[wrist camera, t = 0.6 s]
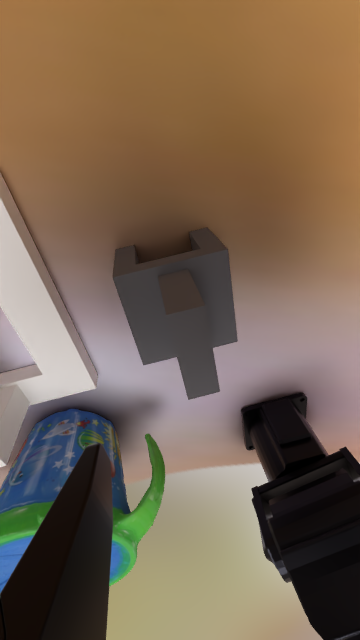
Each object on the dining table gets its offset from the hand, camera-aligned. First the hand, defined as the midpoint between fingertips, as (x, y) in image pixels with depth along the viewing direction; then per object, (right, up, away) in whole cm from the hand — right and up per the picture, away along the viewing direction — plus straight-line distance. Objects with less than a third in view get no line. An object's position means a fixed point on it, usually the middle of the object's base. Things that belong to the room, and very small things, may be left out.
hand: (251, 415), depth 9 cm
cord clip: (-3, +6, +11) cm, 13 cm away
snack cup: (-12, -8, +18) cm, 23 cm away
